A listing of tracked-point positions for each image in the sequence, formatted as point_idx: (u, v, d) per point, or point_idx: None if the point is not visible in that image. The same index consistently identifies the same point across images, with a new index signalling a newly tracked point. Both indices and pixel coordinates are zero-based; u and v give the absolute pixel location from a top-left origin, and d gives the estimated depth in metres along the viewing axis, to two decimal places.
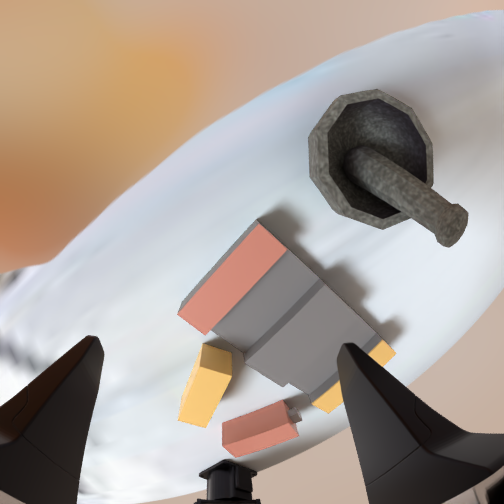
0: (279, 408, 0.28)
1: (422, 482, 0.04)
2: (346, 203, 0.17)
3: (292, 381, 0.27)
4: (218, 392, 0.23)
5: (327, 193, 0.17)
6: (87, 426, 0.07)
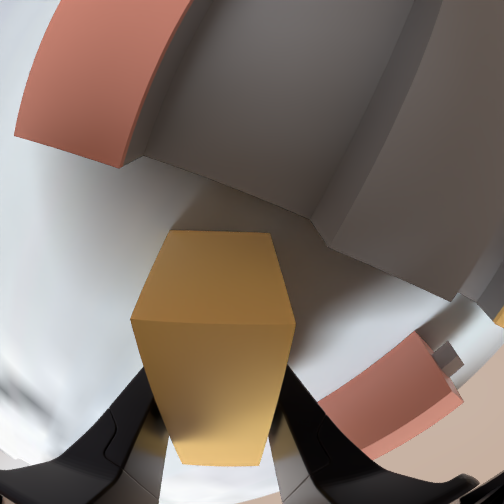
0: (415, 356, 0.10)
1: None
2: None
3: None
4: (259, 397, 0.06)
5: None
6: (166, 441, 0.07)
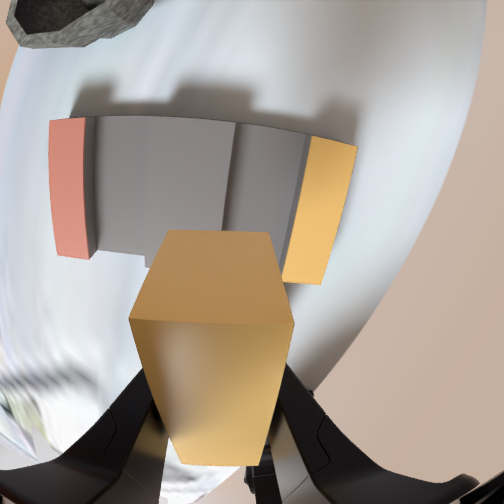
0: None
1: None
2: (52, 33, 0.07)
3: None
4: (258, 397, 0.06)
5: (40, 45, 0.08)
6: (166, 441, 0.07)
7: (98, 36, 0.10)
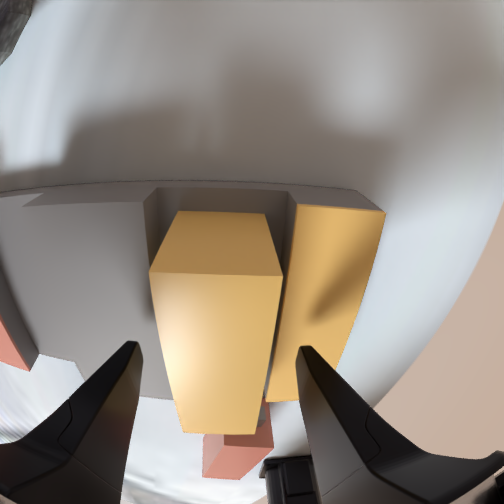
0: None
1: (368, 503, 0.04)
2: None
3: None
4: (254, 350, 0.07)
5: None
6: (129, 435, 0.07)
7: None
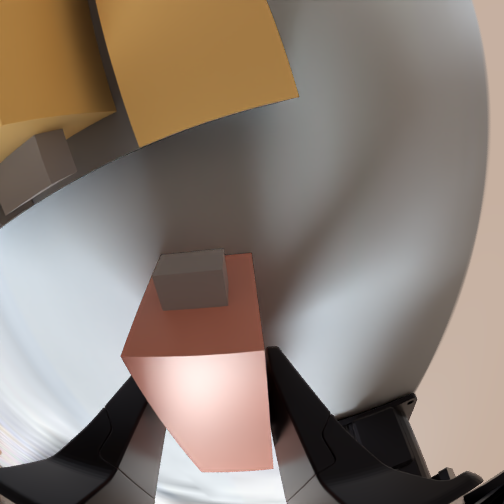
0: None
1: None
2: None
3: None
4: None
5: None
6: (162, 440, 0.07)
7: None
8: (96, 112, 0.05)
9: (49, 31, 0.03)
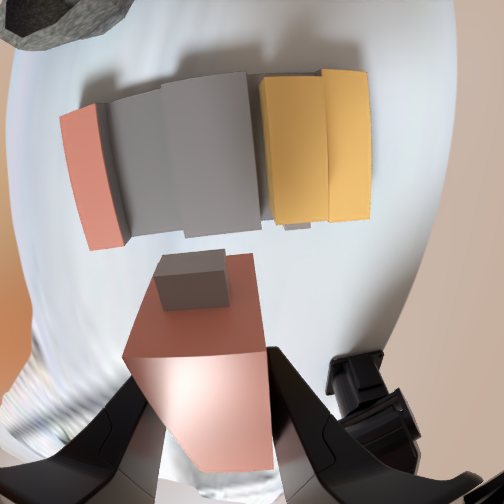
0: None
1: None
2: (49, 28, 0.08)
3: None
4: (317, 120, 0.13)
5: (38, 43, 0.08)
6: (162, 440, 0.07)
7: (93, 25, 0.10)
8: None
9: None
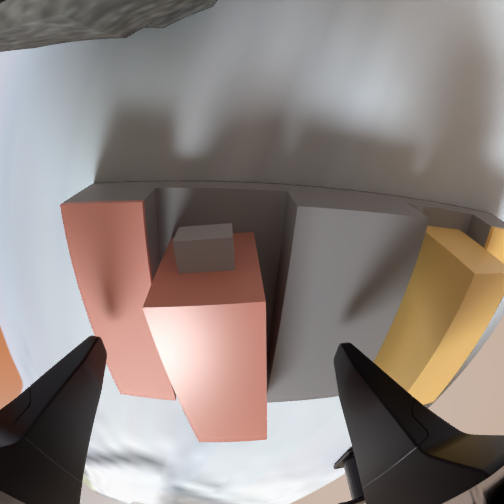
0: None
1: (419, 484, 0.04)
2: None
3: None
4: (484, 323, 0.08)
5: (6, 38, 0.02)
6: (90, 427, 0.07)
7: (170, 10, 0.04)
8: None
9: None
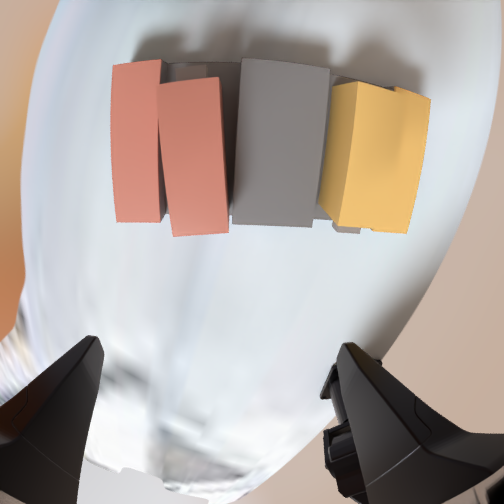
0: None
1: (422, 483, 0.04)
2: None
3: (326, 214, 0.19)
4: (394, 134, 0.13)
5: None
6: (87, 426, 0.07)
7: None
8: None
9: None
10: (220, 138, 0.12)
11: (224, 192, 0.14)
